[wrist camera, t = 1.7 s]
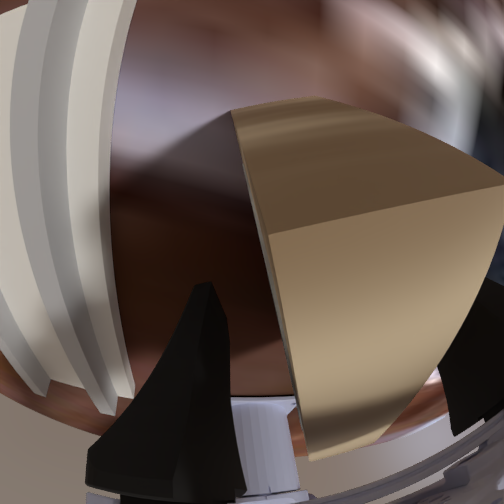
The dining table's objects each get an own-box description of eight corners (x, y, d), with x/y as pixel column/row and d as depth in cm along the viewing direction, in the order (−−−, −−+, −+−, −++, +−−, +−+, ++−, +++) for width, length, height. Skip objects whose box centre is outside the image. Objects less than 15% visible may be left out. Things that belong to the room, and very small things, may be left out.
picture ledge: (135, 385, 18) (131, 419, 16) (32, 360, 16) (22, 388, 14) (139, -8, 5) (109, -35, 3) (-36, 40, 3) (-77, 48, 1)
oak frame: (329, 317, 16) (373, 442, 9) (279, 329, 16) (308, 461, 9) (314, 95, 8) (513, 183, 2) (229, 110, 8) (261, 235, 2)
